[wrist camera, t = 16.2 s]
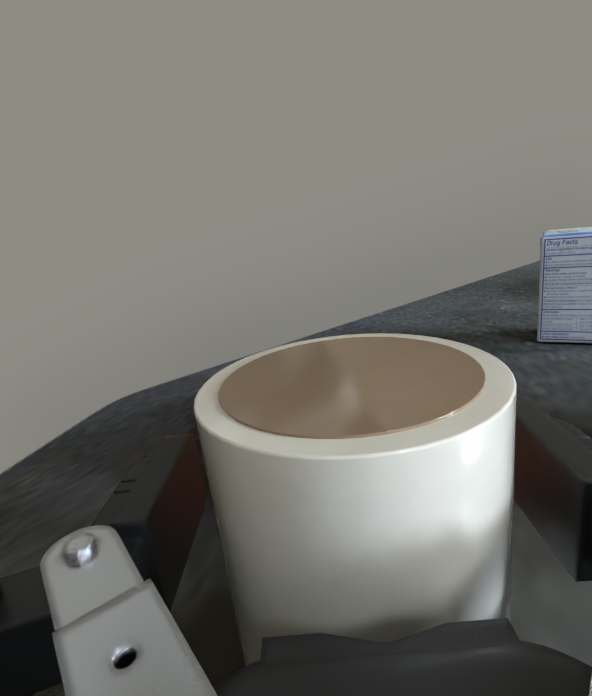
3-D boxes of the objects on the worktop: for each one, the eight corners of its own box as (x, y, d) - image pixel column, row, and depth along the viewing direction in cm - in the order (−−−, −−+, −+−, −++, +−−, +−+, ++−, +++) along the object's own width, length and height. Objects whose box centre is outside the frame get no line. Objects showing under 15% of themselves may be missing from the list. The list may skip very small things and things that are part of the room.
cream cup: (243, 870, 9) (144, 474, 6) (267, 603, 15) (222, 346, 12) (563, 853, 8) (603, 429, 6) (454, 588, 14) (450, 320, 12)
